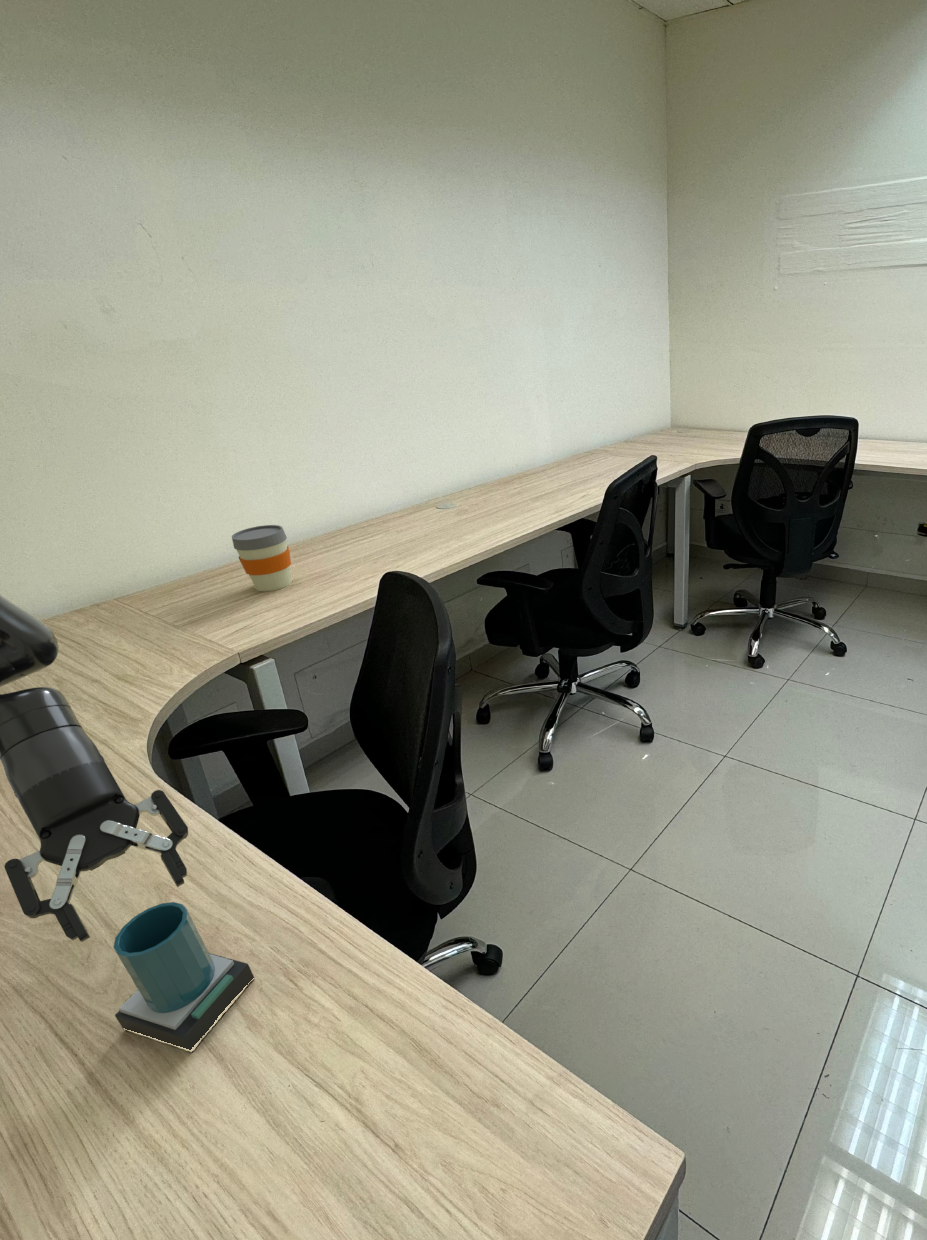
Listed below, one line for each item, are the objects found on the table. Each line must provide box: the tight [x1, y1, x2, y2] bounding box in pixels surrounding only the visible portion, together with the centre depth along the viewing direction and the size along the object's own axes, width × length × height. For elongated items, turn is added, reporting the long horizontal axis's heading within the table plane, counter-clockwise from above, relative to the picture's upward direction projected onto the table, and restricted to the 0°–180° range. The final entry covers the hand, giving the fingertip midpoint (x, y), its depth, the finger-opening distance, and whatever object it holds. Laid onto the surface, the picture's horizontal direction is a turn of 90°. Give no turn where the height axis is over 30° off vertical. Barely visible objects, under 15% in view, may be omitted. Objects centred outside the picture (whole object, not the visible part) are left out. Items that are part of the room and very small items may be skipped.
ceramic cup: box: [113, 901, 215, 1013], centre depth 65 cm, size 6×6×8 cm
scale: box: [114, 952, 255, 1050], centre depth 67 cm, size 9×8×3 cm
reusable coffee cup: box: [231, 524, 293, 592], centre depth 172 cm, size 13×12×15 cm
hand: (135, 910), depth 67 cm, fingers open, 8 cm apart
